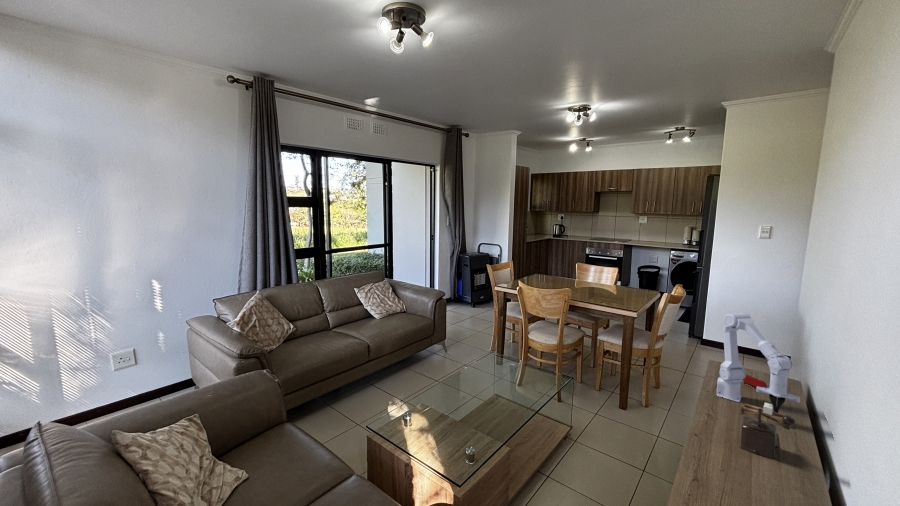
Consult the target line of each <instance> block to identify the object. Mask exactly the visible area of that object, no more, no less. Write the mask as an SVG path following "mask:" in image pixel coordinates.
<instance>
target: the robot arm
mask: <svg viewBox="0 0 900 506" xmlns="http://www.w3.org/2000/svg"><path fill="white" fill-rule="evenodd" d="M754 321H755V320H754V319H753V318H752V317H751V315H750V314H749V313H746V312H742V313H727V314H726V315H724V316H723V324H722V335H723V336H722V337H723V348H724V361H723V362H722V363H721V364H720V369H719V372H718V373H719V377H717V381H716V395H717V397H719V398H722V397H723V398H724V399H727V400H731V401H734V402H738V403H740V402H741V399H742V397H743V396H742V395H741V386H742V385H741V383H742V382H743V379H744V378H745V376H746V375H747V374H746V372H745V368H744V365H743V364H742V363H740V361H739V360H740V359H739V348H738V337H737V336H738V330H742V331H745V332H746V333H747V334H748V335H749V336H750V337H751V338H752V339H753V340H754V342H756V344H757V348H758V350H759V351H760V353H762V355H763V356H764V357H765V359H766V360H767V365H768V367H769V371H770V379H769V386H768V387H769V388H762V387H757V388H755V389H756V390H755V391H756V393H762V394H766V395H768V396H769V397H768V398H769V400H770V402H771V404H772V405H773V411H774V412H776V413H779V412H780V411H779V410H780V409H781V406H782V405H783V404H784V403H785V402H786V400H790V401H793V402H796V403H798V404H799V403H800V401H801V397H800V396H797V395H794V394H791V393H790V392H789V393H788V392H787V391H788V390H787V389H788V381H789V380H788V379H789V370H791V369H792V368H793V361H792V360H791V358H790V357H788V356H786V355H784V354H783V353H781V352H780V351H779V349H778V348H777V347H776V346H775V343H774V342H771V341H769V340H767V339H765V337H764V336H763V334H762V333H761V331H760V330H759V329H758V327H757V326H756V325H755V324H754ZM716 395H715V396H716Z"/></svg>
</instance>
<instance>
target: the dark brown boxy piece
mask: <svg viewBox="0 0 900 506" xmlns="http://www.w3.org/2000/svg"><path fill="white" fill-rule="evenodd" d="M761 408H762V407H760V408H758V412H757V413H758V419H757V418H753V417H750V416H748V417H747V416H746V415H744V416H743V418H742V422H741V431H740V443H739V448H740V449H742V450H744V451H748V452H750V453H753V454H756V455H759V456H763V457H766V458H769V459H770V458H771V459H775V456H776V450H775V437H776V436H777V426H776V425H777V424H774V423H771V422H767V421H764V420H761V415H763V416H764V417H766V418H769V419H771V420H774V421H776V422H778V423H779V424H781V425H782V426H781V425H780V426H781V427H782V428H783V429H786V430H791V429H792V428H791V427H792V426H795V425H796V419H795V418H793V417H792V416H790V415H789V416H787V415H788V414H785V415H784V416H783V417H782V420H783V423H782V422H781V421H779V420H777V419H774V418H772V417H770V416H767V415H765V414H763V413H762V409H761Z"/></svg>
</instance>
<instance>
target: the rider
mask: <svg viewBox="0 0 900 506" xmlns="http://www.w3.org/2000/svg"><path fill="white" fill-rule="evenodd" d="M762 408H763V413H766V414H769V415H772V413H773V411H774V408H773V405H772V403H769V402H764V405H763V407H762Z"/></svg>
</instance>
